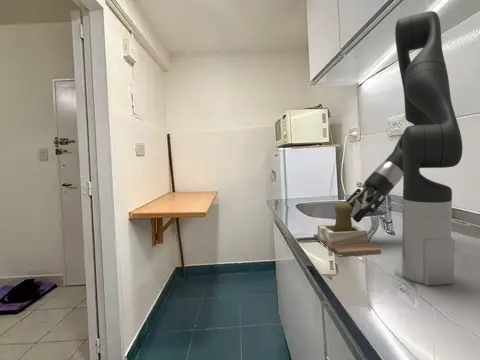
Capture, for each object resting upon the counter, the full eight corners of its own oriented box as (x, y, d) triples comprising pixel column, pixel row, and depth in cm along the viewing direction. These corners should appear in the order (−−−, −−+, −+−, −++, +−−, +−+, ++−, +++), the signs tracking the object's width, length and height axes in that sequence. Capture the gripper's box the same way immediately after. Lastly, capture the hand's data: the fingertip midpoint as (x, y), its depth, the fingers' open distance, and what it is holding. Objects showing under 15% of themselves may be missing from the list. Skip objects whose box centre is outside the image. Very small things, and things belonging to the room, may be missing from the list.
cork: (356, 241, 99) (356, 205, 98) (336, 241, 100) (335, 205, 99) (350, 236, 105) (350, 202, 104) (331, 236, 106) (331, 202, 105)
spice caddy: (381, 253, 91) (381, 236, 90) (339, 256, 89) (338, 239, 89) (348, 236, 110) (348, 222, 110) (313, 238, 109) (313, 224, 109)
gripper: (364, 169, 109) (330, 206, 108) (389, 172, 94) (350, 213, 94) (379, 185, 110) (346, 221, 109) (406, 189, 95) (368, 231, 95)
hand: (348, 217), depth 101 cm, fingers open, 8 cm apart
